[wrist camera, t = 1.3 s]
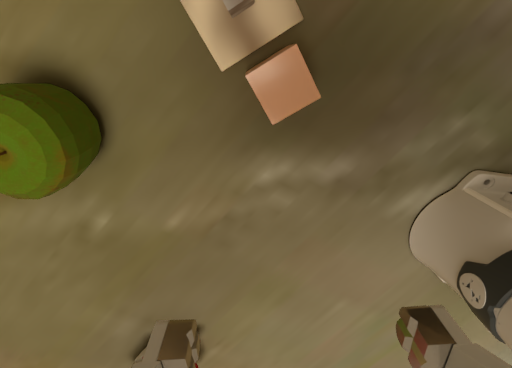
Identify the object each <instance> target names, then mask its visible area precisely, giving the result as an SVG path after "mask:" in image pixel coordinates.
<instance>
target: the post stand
mask: <svg viewBox="0 0 512 368" xmlns="http://www.w3.org/2000/svg"><path fill="white" fill-rule="evenodd" d="M180 1H181V3H182V5H183V6H184V8H185V10H186V12H187V13H188V15H189V17H190V18H191V20H192V22H193V23H194V25H195V27H196V29H197V30H198V32H199V34H200V35H201V37H202V39H203V41H204V42H205V44H206V46H207V47H208V49H209V51H210V52H211V54H212V56H213V58H214V59H215V61H216V63H217V64H218V66H219V68H220V69H221V71H224V70H225V69H227V68H229V67H230V66H232V65H233V64H235V63H236V62H238V61H239V60H241V59H243V58H244V57H246V56H247V55H249V54H250V53H252V52H253V51H255V50H257V49H258V48H260V47H261V46H263V45H264V44H266V43H267V42H269V41H271V40H272V39H274V38H275V37H277V36H278V35H280V34H281V33H283V32H285V31H286V30H288V29H289V28H291V27H292V26H294V25H295V24H297V23H299V22H300V21H302V20H303V16H302V14H301V12H300V10H299V7H298V5H297V3H296V0H180Z"/></svg>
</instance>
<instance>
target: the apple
mask: <svg viewBox="0 0 512 368" xmlns="http://www.w3.org/2000/svg"><path fill="white" fill-rule="evenodd" d="M101 139H102V138H101V134H100V130H99V125H98V121H97V120H96V118H95V117H94V115H93V114H92V113H91V111H90V110H89V109H88V107H87V106H86V104H84V103H83V102H82V101H81V100H80V99H78V98H77V97H76V96H75V95H73V94H72V93H71V92H70V91H68V90H65V89H63V88H60V87H57V86H54V85H52V84H48V83H7V84H0V193H1V194H4V195H7V196H11V197H14V198H17V199H40V198H43V197H46V196H49V195H51V194H53V193H55V192H57V191H59V190H60V189H62V188H64V187H66V186H67V185H69V184H70V183H71V182H72V181H74V180H75V179H76V178H78V177H79V176H80V175H81V174H82V173H83V171H84V170H85V169H86V168H87V167H88V166H89V165H90V164H91V162H92V161H93V160H94V158H95V157H96V156H97V154H98V152H99V148H100V143H101Z"/></svg>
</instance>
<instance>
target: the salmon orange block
mask: <svg viewBox="0 0 512 368" xmlns="http://www.w3.org/2000/svg"><path fill="white" fill-rule="evenodd" d="M245 76H246V78H247V80H248V82H249V84H250V85H251V87H252V89H253V91H254V93H255V94H256V96H257V98H258V100H259V101H260V103H261V105H262V107H263V109H264V110H265V112H266V114H267V116H268V118H269V119H270V121H271V123H272V125H274V124H276V123H277V122H279V121H281V120H283V119H284V118H286V117H288V116H290V115H291V114H293V113H295V112H297V111H298V110H300V109H302V108H304V107H305V106H307V105H309V104H311V103H312V102H314V101H316V100H318V99H319V98H321V96H320V94H319V91H318V89H317V87H316V85H315V83H314V80H313V78H312V76H311V74H310V72H309V70H308V67H307V65H306V63H305V61H304V59H303V57H302V54H301V52H300V50H299V48H298V46H297V44H292V45H288V46H286V47H284V48H283V49H281V50H280V51H278V52H276V53H275V54H273V55H272V56H270V57H269V58H267V59H265V60H264V61H262V62H261V63H259V64H257V65H256V66H254V67H253V68H251V69H249V70H248V71H246V75H245Z"/></svg>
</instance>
